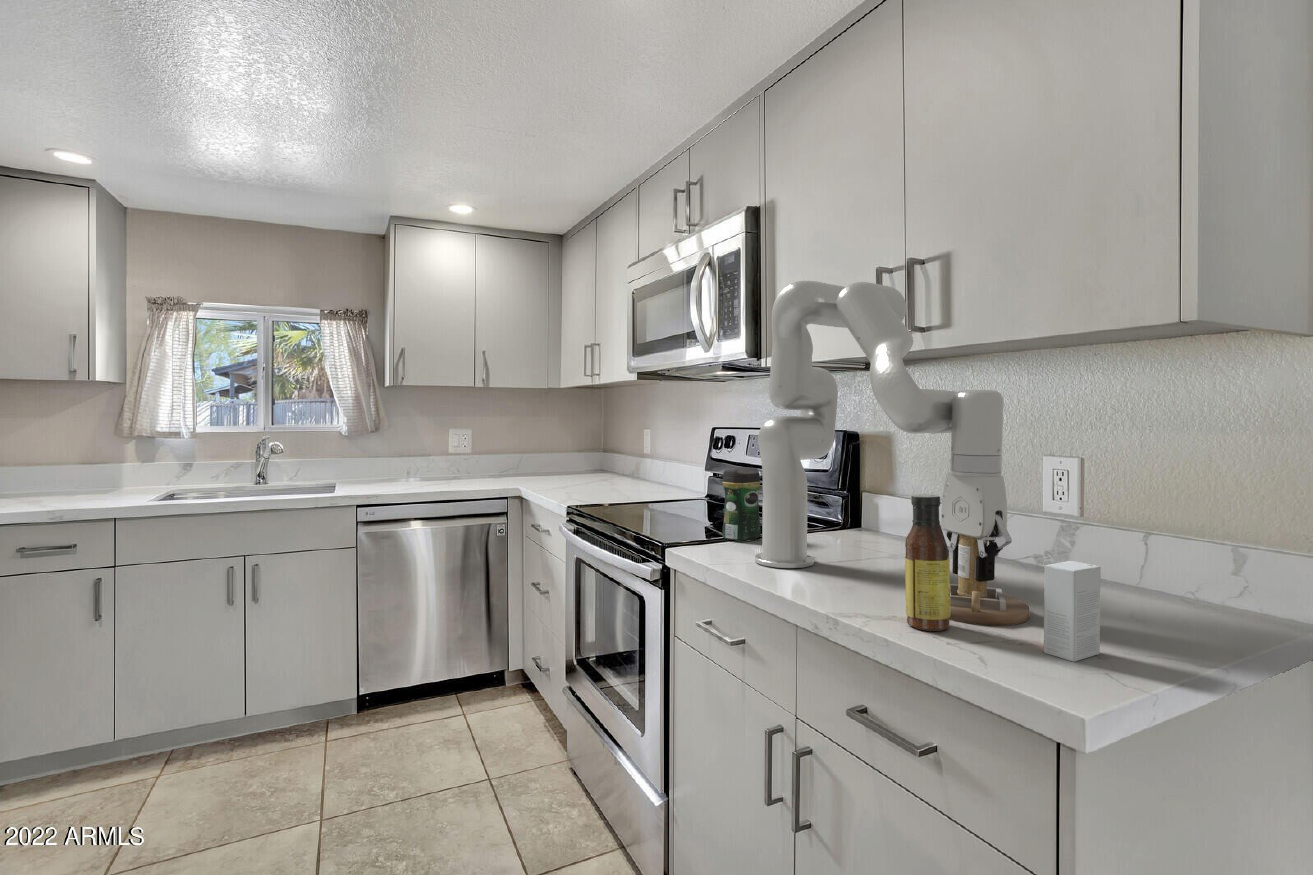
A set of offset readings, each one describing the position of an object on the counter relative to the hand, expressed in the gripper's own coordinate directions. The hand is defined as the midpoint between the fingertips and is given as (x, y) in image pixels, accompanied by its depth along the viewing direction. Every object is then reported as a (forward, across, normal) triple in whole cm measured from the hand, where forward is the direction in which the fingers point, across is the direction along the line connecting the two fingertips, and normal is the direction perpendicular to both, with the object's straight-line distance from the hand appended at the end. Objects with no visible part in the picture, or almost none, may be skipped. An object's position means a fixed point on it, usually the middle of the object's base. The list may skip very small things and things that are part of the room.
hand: (972, 575), depth 109 cm
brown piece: (+6, 0, 0) cm, 6 cm away
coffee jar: (+6, -68, -10) cm, 70 cm away
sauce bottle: (+6, +5, -13) cm, 15 cm away
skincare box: (+6, +20, -2) cm, 21 cm away
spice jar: (+4, 0, 0) cm, 4 cm away
